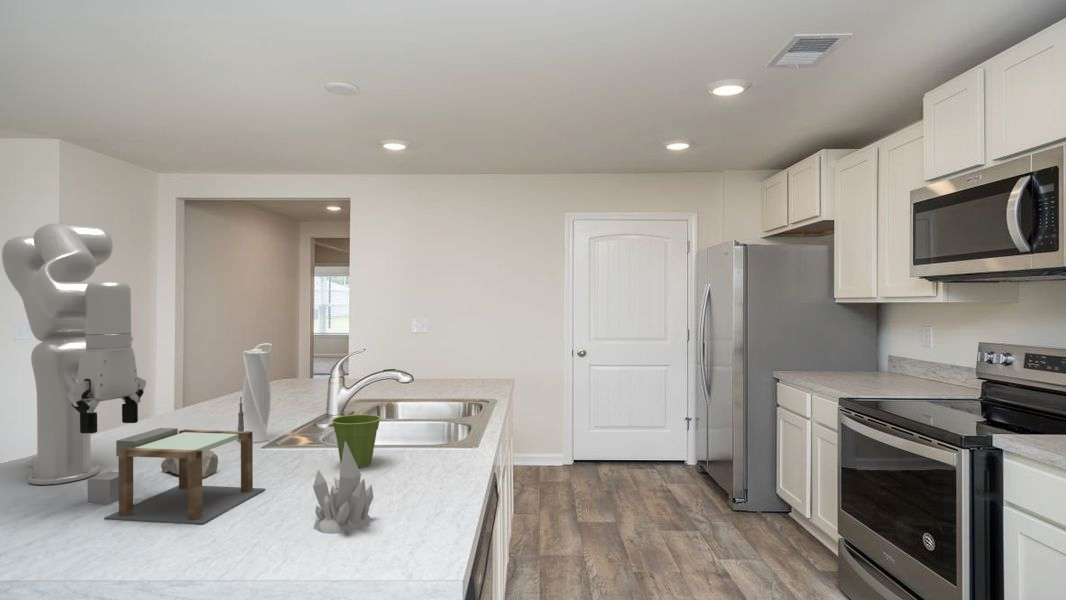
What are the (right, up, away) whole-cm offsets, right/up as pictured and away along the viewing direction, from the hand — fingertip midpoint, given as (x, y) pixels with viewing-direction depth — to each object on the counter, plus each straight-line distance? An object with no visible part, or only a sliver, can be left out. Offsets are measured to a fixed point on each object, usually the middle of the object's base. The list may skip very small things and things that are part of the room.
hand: (110, 427), depth 117 cm
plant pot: (+42, -15, +25) cm, 51 cm away
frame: (+17, -15, -2) cm, 23 cm away
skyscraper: (+6, -15, +49) cm, 52 cm away
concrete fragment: (+5, -15, +18) cm, 24 cm away
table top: (+17, -15, -2) cm, 23 cm away
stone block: (0, -15, 0) cm, 15 cm away
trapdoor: (+15, -4, -2) cm, 15 cm away
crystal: (+50, -15, -12) cm, 54 cm away
